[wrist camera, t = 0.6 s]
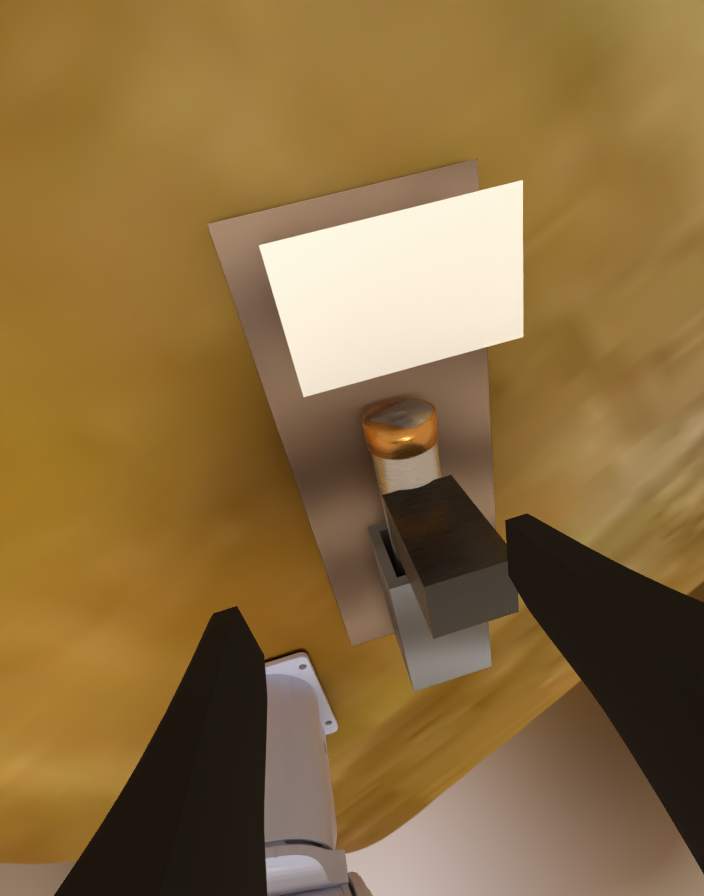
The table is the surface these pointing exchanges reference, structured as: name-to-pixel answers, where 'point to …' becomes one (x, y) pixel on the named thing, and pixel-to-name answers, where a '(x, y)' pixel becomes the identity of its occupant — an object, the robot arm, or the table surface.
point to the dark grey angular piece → (435, 523)
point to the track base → (341, 432)
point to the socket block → (400, 287)
